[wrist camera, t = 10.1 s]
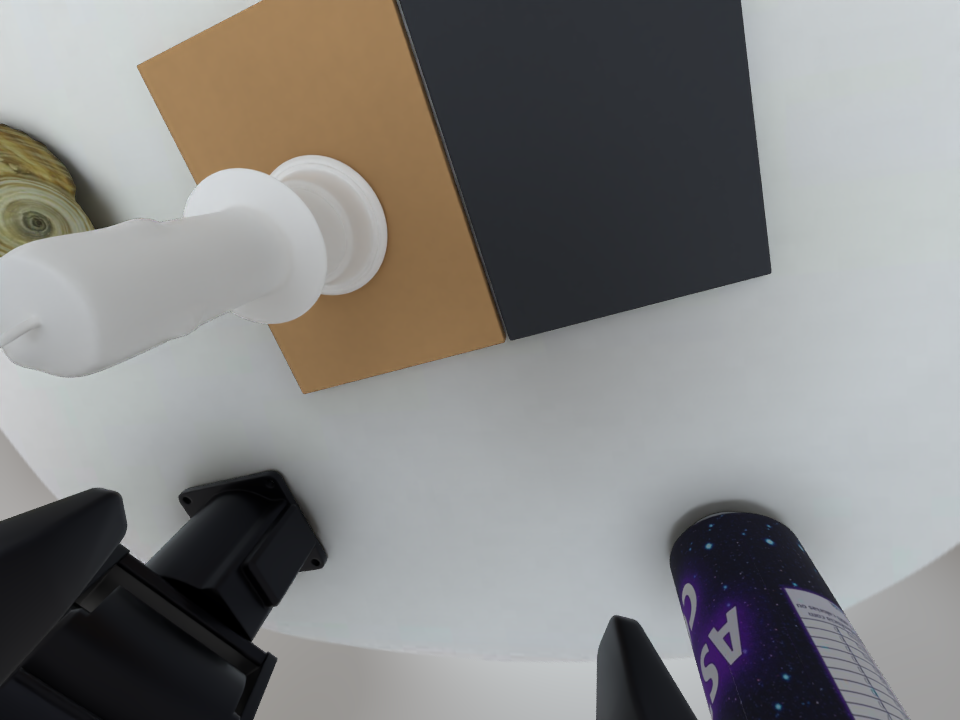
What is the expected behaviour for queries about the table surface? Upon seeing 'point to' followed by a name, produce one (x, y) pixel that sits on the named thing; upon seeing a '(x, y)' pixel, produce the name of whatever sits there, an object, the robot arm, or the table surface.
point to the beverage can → (771, 627)
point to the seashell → (34, 193)
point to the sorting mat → (489, 158)
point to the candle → (192, 266)
